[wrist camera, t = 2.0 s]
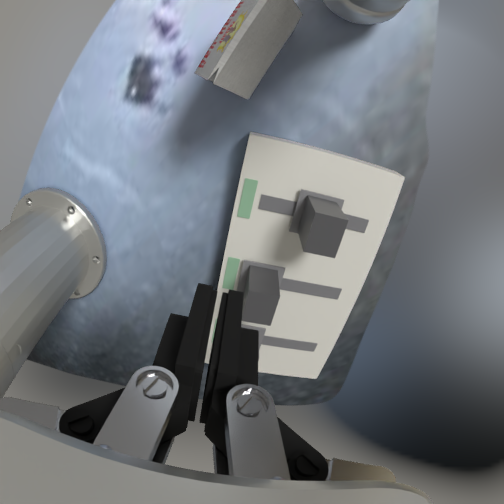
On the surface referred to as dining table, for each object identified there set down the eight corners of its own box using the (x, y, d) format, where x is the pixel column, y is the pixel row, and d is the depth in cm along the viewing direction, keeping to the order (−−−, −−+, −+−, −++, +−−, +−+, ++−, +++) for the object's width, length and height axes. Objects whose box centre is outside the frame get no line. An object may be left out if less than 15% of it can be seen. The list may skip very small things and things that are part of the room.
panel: (314, 366, 36) (316, 379, 35) (206, 349, 35) (203, 363, 34) (395, 171, 26) (405, 177, 24) (250, 131, 24) (249, 134, 23)
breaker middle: (274, 300, 29) (276, 329, 26) (235, 293, 29) (232, 322, 25) (285, 267, 28) (288, 294, 24) (243, 259, 27) (241, 285, 24)
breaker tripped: (330, 239, 26) (341, 263, 23) (288, 230, 26) (293, 253, 22) (343, 199, 25) (357, 218, 21) (300, 188, 24) (308, 206, 21)
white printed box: (292, 31, 21) (313, -4, 12) (249, 98, 23) (243, 99, 14) (252, 10, 20) (248, -36, 11) (208, 77, 22) (179, 67, 14)
